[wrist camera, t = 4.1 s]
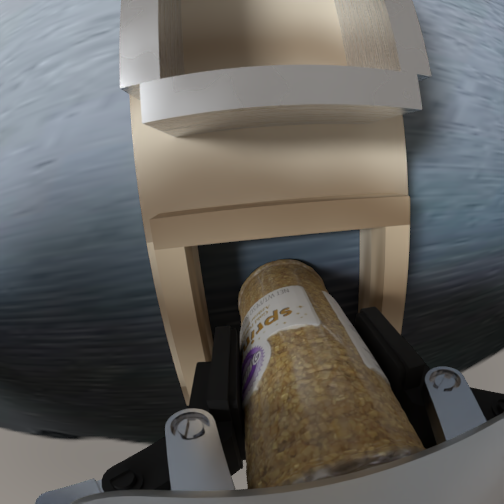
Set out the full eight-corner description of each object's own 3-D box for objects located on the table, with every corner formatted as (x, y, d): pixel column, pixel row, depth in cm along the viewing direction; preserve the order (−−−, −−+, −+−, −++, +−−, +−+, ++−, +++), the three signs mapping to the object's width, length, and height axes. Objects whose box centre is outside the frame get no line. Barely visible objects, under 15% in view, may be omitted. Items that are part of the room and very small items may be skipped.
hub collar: (379, 124, 12) (437, 111, 7) (161, 139, 12) (122, 127, 7) (345, -38, 9) (374, -85, 5) (156, -30, 9) (132, -81, 5)
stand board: (382, 364, 17) (401, 393, 14) (189, 389, 17) (183, 423, 14) (356, -31, 10) (374, -57, 8) (139, -20, 10) (123, -48, 7)
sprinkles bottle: (241, 253, 15) (257, 582, 2) (332, 260, 15) (521, 491, 2) (234, 335, 16) (235, 604, 3) (317, 339, 16) (409, 573, 3)
